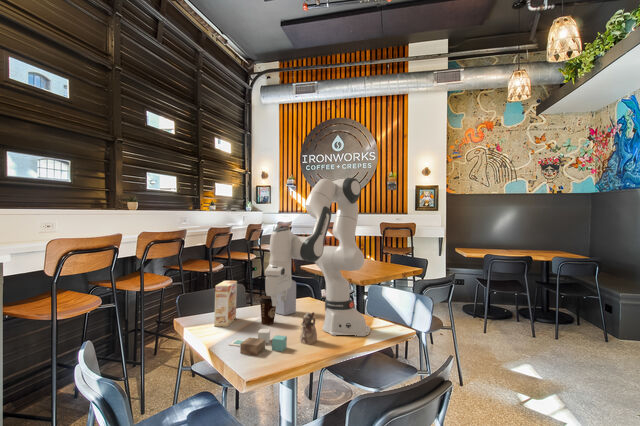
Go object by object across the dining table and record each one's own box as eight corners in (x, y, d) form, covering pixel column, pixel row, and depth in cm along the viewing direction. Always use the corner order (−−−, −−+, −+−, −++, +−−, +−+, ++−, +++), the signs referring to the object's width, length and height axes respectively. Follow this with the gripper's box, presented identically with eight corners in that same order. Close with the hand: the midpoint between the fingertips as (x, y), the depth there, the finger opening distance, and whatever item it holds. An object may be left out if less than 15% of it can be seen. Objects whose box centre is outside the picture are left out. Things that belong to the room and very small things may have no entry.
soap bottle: (273, 313, 184) (274, 267, 185) (284, 310, 191) (285, 265, 192) (285, 316, 178) (286, 269, 179) (296, 312, 186) (297, 267, 186)
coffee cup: (278, 321, 169) (279, 295, 170) (274, 326, 161) (275, 299, 162) (261, 320, 170) (262, 294, 171) (257, 325, 162) (257, 298, 162)
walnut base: (265, 349, 132) (265, 339, 132) (256, 356, 125) (257, 345, 126) (249, 347, 134) (249, 337, 134) (240, 353, 127) (240, 343, 128)
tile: (248, 341, 140) (248, 340, 140) (242, 346, 134) (242, 345, 134) (235, 340, 141) (235, 338, 141) (228, 345, 136) (228, 343, 136)
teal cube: (286, 347, 134) (286, 336, 134) (282, 351, 130) (282, 340, 130) (275, 346, 135) (276, 335, 135) (271, 350, 131) (272, 338, 131)
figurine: (297, 339, 143) (298, 311, 143) (312, 337, 146) (313, 309, 146) (303, 345, 137) (304, 315, 137) (319, 343, 139) (319, 314, 140)
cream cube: (270, 339, 143) (270, 329, 143) (268, 343, 138) (268, 332, 138) (259, 339, 143) (259, 329, 143) (257, 343, 138) (258, 332, 138)
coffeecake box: (228, 326, 159) (229, 285, 160) (213, 326, 159) (214, 285, 160) (236, 318, 174) (237, 280, 175) (223, 317, 174) (224, 280, 175)
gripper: (281, 265, 145) (280, 297, 144) (262, 271, 125) (261, 308, 124) (295, 266, 143) (294, 298, 143) (278, 272, 123) (277, 309, 123)
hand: (279, 303), depth 133 cm, fingers open, 8 cm apart
